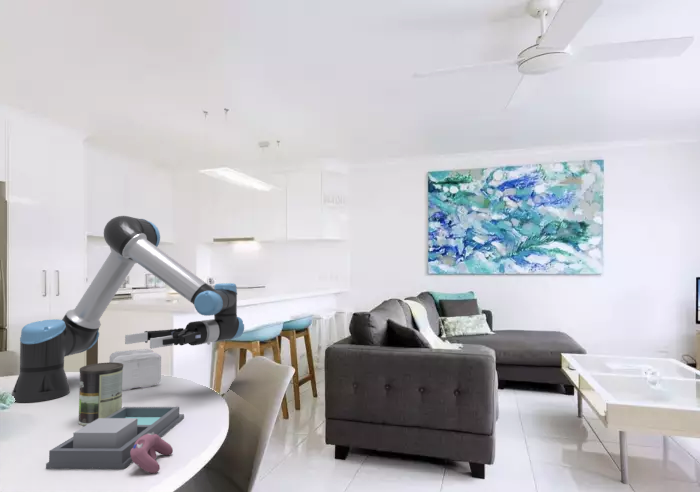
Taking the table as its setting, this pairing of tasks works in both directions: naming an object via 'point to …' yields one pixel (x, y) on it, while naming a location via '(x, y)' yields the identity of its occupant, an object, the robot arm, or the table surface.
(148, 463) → the video game controller
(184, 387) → the table surface
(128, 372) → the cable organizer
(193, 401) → the table surface
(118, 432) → the grey compartment tray
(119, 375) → the coffee can
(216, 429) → the table surface
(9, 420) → the table surface
